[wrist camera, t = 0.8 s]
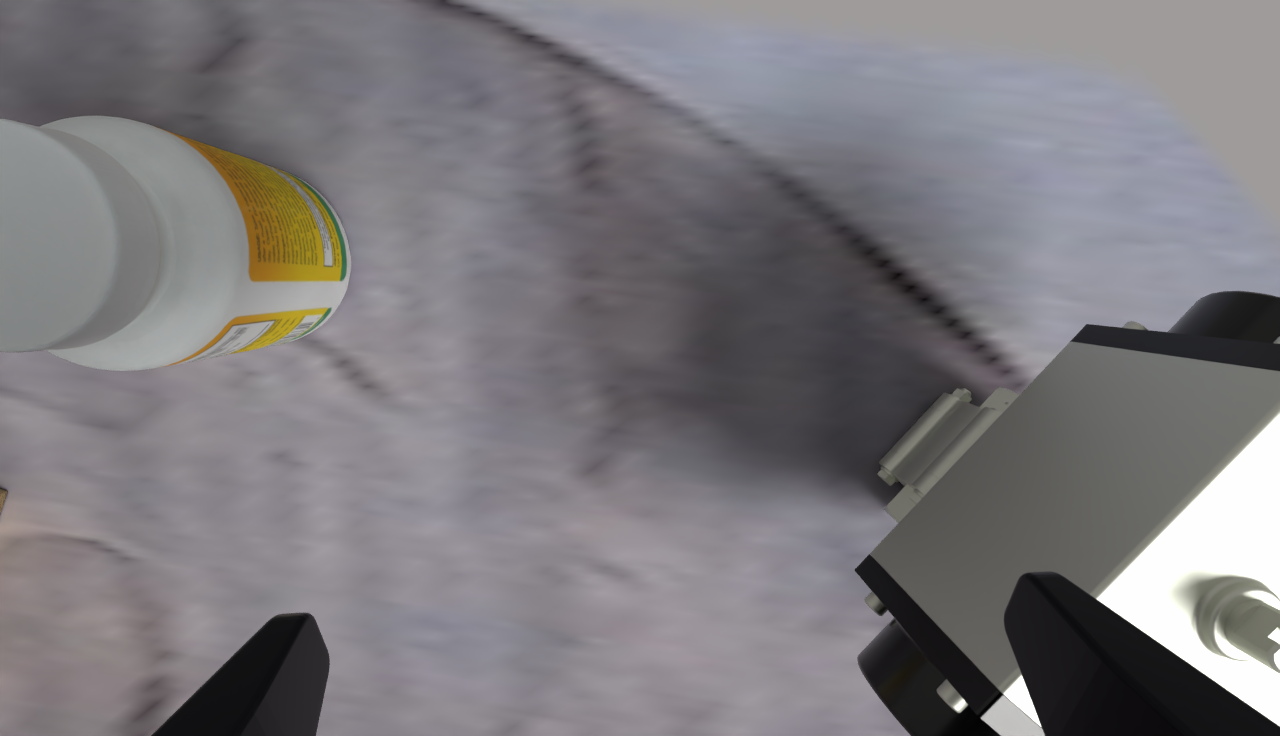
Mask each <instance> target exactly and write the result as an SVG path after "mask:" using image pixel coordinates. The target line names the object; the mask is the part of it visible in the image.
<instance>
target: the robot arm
mask: <svg viewBox="0 0 1280 736" xmlns="http://www.w3.org/2000/svg"><path fill="white" fill-rule="evenodd" d="M1004 627H1005V631H1006V635H1007V637H1008V640H1009V642H1010V645H1011V648H1012V650H1013V653H1014V656H1015V658H1016V661H1017V664H1018V666H1019V669H1020V672H1021V674H1022V677H1023V679H1024V682H1025V685H1026V687H1027V690H1028V693H1029V695H1030V698H1031V701H1032V703H1033V706H1034V708H1035V711H1036V714H1037V716H1038V719H1039V722H1040V724H1041V727H1042V730H1043V732H1044V734H1045V736H1280V726H1279V725H1277V724H1276V723H1274V722H1273V721H1272V720H1270V719H1269V718H1267V717H1266V716H1264V715H1263V714H1261V713H1260V712H1259V711H1257V710H1256V709H1254V708H1253V707H1251V706H1250V705H1248V704H1247V703H1246V702H1244V701H1243V700H1241V699H1240V698H1238V697H1237V696H1235V695H1234V694H1233V693H1231V692H1230V691H1228V690H1227V689H1225V688H1224V687H1223V686H1221V685H1220V684H1218V683H1217V682H1215V681H1214V680H1212V679H1211V678H1210V677H1208V676H1207V675H1205V674H1204V673H1202V672H1201V671H1199V670H1198V669H1197V668H1195V667H1194V666H1192V665H1191V664H1189V663H1188V662H1186V661H1185V660H1184V659H1182V658H1181V657H1179V656H1178V655H1176V654H1175V653H1174V652H1172V651H1171V650H1169V649H1168V648H1166V647H1165V646H1163V645H1162V644H1161V643H1159V642H1158V641H1156V640H1155V639H1153V638H1152V637H1150V636H1149V635H1148V634H1146V633H1145V632H1143V631H1142V630H1140V629H1139V628H1137V627H1136V626H1135V625H1133V624H1132V623H1130V622H1129V621H1127V620H1126V619H1124V618H1123V617H1122V616H1120V615H1119V614H1117V613H1116V612H1114V611H1113V610H1112V609H1110V608H1109V607H1107V606H1106V605H1104V604H1103V603H1101V602H1100V601H1099V600H1097V599H1096V598H1094V597H1093V596H1091V595H1090V594H1088V593H1087V592H1086V591H1084V590H1083V589H1081V588H1080V587H1078V586H1077V585H1075V584H1074V583H1073V582H1071V581H1070V580H1068V579H1067V578H1065V577H1064V576H1062V575H1060V574H1058V573H1056V572H1050V571H1046V572H1028V573H1024V574H1023V575H1021V576H1020V577H1019V579H1018V581H1017V583H1016V586H1015V588H1014V590H1013V593H1012V595H1011V597H1010V600H1009V602H1008V605H1007V607H1006V609H1005V612H1004ZM329 665H330V663H329V653H328V650H327V648H326V645H325V643H324V640H323V638H322V635H321V633H320V630H319V628H318V625H317V623H316V620H315V619H314V617H313V616H312V615H311V614H309V613H289V614H280V615H277V616H275V617H273V618H272V619H270V620H269V621H268V622H267V623H266V624H265V625H264V626H263V627H262V628H261V629H260V630H259V631H258V632H257V633H256V634H255V635H254V636H253V637H252V638H251V639H249V640H248V641H247V642H246V643H245V644H244V645H243V646H242V647H241V648H240V649H239V650H238V651H237V652H236V653H235V654H234V655H233V656H232V657H231V658H230V659H229V660H228V661H227V662H226V663H225V664H224V665H223V666H222V667H221V668H220V669H219V670H218V671H217V672H216V673H215V674H214V675H213V676H212V677H211V678H210V679H209V680H208V681H207V682H206V683H205V684H204V685H203V686H201V687H200V688H199V689H198V690H197V691H196V692H195V693H194V694H193V695H192V696H191V697H190V698H189V699H188V700H187V701H186V702H185V703H184V704H183V705H182V706H181V707H180V708H179V709H178V710H177V711H176V712H175V713H174V714H173V715H172V716H171V717H170V718H169V719H168V720H167V721H166V722H165V723H164V724H163V725H162V726H161V727H160V728H159V729H158V730H157V731H156V732H155V733H153V734H152V735H151V736H316V732H317V727H318V722H319V717H320V712H321V707H322V703H323V698H324V693H325V688H326V683H327V678H328V673H329Z"/></svg>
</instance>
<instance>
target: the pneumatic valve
mask: <svg viewBox="0 0 1280 736" xmlns="http://www.w3.org/2000/svg"><path fill="white" fill-rule="evenodd" d="M970 396H971V393H970V391H968V390H967V389H965V388H962V389H958V388H957V389H956V390H955V391H954V392H953V393H952V394H951V393H950V394H948V393H945V392H944V393H943V394H942V395H941V396H940V397H939V398H938V399H937V400H936V401H935V402H934V403H933V405H932V406H931V407H930V408H929V409H928V410H927V411H926V412H925V413H924V414H923V415H922V416H921V417H920V418H919V419H918V421H917V422H916V423H915V424H914V425H913V426H912V427H911V428H910V429H909V430H908V431H907V432H906V433H905V434H904V436H903V437H902V438H901V439H900V440H899V441H898V442H897V443H896V444H895V445H894V446H893V447H892V448H891V450H890V451H889V452H888V453H887V454H886V455H885V456H884V457H883V458H882V459H881V460H880V461H879V462H878V463H879V464H880V465H881V467H880V468H881V470H880V471H879V472H878V473H877V475H878V476H879V477H880V478H881V479H883V480H884V481H885V482H886V483H887V484H889V485H890V486H891V485H892V484H893V483H894V482H895V481H896V482H898V481H899V482H900V483H902V484H903V485H904V486H905V487H904V488H903V489H902V490H901V491H900V492H899V493H898V494H897V495H896V496H895V497H894V498H893V500H892V501H891V502H890V503H889V504H888V505H887V506H886V507H885V508H884V510H885V511H886V512H887V513H888V514H889V515H890V516H891V517H892V518H893V519H894V520H896V521H897V522H898V524H897V525H896V526H895V528H894V529H893V530H892V531H891V532H890V533H889V534H888V535H887V536H886V537H885V538H884V539H883V540H882V541H881V542H880V543H879V544H878V546H877V547H876V548H875V549H874V550H873V551H872V552H871V553H870V554H869V555H868V556H867V557H866V558H865V559H864V560H863V561H862V562H861V564H860V565H859V566H858V567H857V568H856V569H855V571H856V572H857V574H858V575H859V576H860V577H861V578H862V580H863V581H864V582H865V583H866V584H867V585H868V587H869V588H870V589H871V590H872V592H871V593H870V594H869V595H868V596H867V597H866V598H865V599H864V601H865V603H866V604H867V605H868V606H869V607H870V608H871V609H872V610H873V611H874V612H875V613H876V614H878V615H879V616H882V615H883V614H884V613H885V612H886V611H887V610H889V612H890V613H891V614H892V615H893V616H894V619H893V620H892V621H891V622H890V623H889V624H888V625H887V626H886V627H885V628H884V629H883V630H882V631H881V632H880V633H879V634H878V635H877V636H876V637H875V639H874V640H873V641H872V642H871V643H870V644H869V645H868V646H867V647H866V648H865V649H864V650H863V651H862V652H861V653H860V654H859V655H858V659H857V661H858V665H859V667H860V669H861V671H862V673H863V675H864V677H865V678H866V680H867V681H868V683H869V684H870V686H871V687H872V689H873V690H874V691H875V693H876V694H877V695H878V697H879V698H880V699H881V701H882V702H883V703H884V704H885V706H886V707H887V708H888V709H889V711H890V712H891V713H892V714H893V715H894V717H895V718H896V719H897V720H898V721H899V723H900V724H901V725H902V726H903V727H904V728H905V729H906V731H907V732H908V733H909V734H910V735H911V736H1045V734H1044V732H1043V730H1042V727H1041V724H1040V722H1039V719H1038V716H1037V714H1036V711H1035V708H1034V706H1033V703H1032V701H1031V698H1030V695H1029V693H1028V690H1027V687H1026V685H1025V682H1024V679H1023V677H1022V674H1021V672H1020V669H1019V666H1018V664H1017V661H1016V658H1015V656H1014V653H1013V650H1012V648H1011V645H1010V642H1009V640H1008V637H1007V635H1006V631H1005V627H1004V612H1005V609H1006V607H1007V605H1008V602H1009V600H1010V597H1011V595H1012V593H1013V590H1014V588H1015V586H1016V583H1017V581H1018V579H1019V577H1020V576H1021V575H1023V574H1024V573H1028V572H1046V571H1050V572H1056V573H1058V574H1060V575H1062V576H1064V577H1065V578H1067V579H1068V580H1070V581H1071V582H1073V583H1074V584H1075V585H1077V586H1078V587H1080V588H1081V589H1083V590H1084V591H1086V592H1087V593H1088V594H1090V595H1091V596H1093V597H1094V598H1096V599H1097V600H1099V601H1100V602H1101V603H1103V604H1104V605H1106V606H1107V607H1109V608H1110V609H1112V610H1113V611H1114V612H1116V613H1117V614H1119V615H1120V616H1122V617H1123V618H1124V619H1126V620H1127V621H1129V622H1130V623H1132V624H1133V625H1135V626H1136V627H1137V628H1139V629H1140V630H1142V631H1143V632H1145V633H1146V634H1148V635H1149V636H1150V637H1152V638H1153V639H1155V640H1156V641H1158V642H1159V643H1161V644H1162V645H1163V646H1165V647H1166V648H1168V649H1169V650H1171V651H1172V652H1174V653H1175V654H1176V655H1178V656H1179V657H1181V658H1182V659H1184V660H1185V661H1186V662H1188V663H1189V664H1191V665H1192V666H1194V667H1195V668H1197V669H1198V670H1199V671H1201V672H1202V673H1204V674H1205V675H1207V676H1208V677H1210V678H1211V679H1212V680H1214V681H1215V682H1217V683H1218V684H1220V685H1221V686H1223V687H1224V688H1225V689H1227V690H1228V691H1230V692H1231V693H1233V694H1234V695H1235V696H1237V697H1238V698H1240V699H1241V700H1243V701H1244V702H1246V703H1247V704H1248V705H1250V706H1251V707H1253V708H1254V709H1256V710H1257V711H1259V712H1260V713H1261V714H1263V715H1264V716H1266V717H1267V718H1269V719H1270V720H1272V721H1273V722H1274V723H1276V724H1277V725H1279V726H1280V297H1276V296H1272V295H1267V294H1262V293H1255V292H1246V291H1224V292H1218V293H1213V294H1210V295H1207V296H1205V297H1203V298H1201V299H1199V300H1198V301H1197V302H1196V303H1195V304H1194V305H1193V306H1192V307H1191V308H1190V309H1189V310H1188V311H1187V312H1186V313H1185V314H1184V315H1183V317H1182V318H1181V319H1180V320H1179V321H1178V322H1177V323H1176V324H1175V325H1174V326H1173V327H1172V328H1171V329H1170V330H1169V331H1168V332H1158V331H1148V330H1147V329H1146V328H1145V327H1144V326H1143V325H1141V324H1139V323H1136V322H1132V321H1130V322H1127V323H1126V324H1125V325H1124V326H1123V327H1122V328H1119V327H1109V326H1099V325H1089V324H1086V325H1085V326H1084V328H1083V329H1082V330H1081V331H1080V332H1079V333H1078V334H1077V335H1076V336H1075V337H1074V338H1073V339H1072V340H1071V341H1070V342H1069V343H1068V344H1067V346H1066V347H1065V348H1064V349H1063V350H1062V351H1061V352H1060V353H1059V354H1058V355H1057V356H1056V357H1055V358H1054V359H1053V360H1052V361H1051V362H1050V364H1049V365H1048V366H1047V367H1046V368H1045V369H1044V370H1043V371H1042V372H1041V373H1040V374H1039V375H1038V376H1037V377H1036V378H1035V379H1034V380H1033V382H1032V383H1031V384H1030V385H1029V386H1028V387H1027V388H1026V389H1025V390H1024V391H1023V392H1022V393H1021V394H1020V395H1018V394H1017V393H1015V392H1013V391H1011V390H1008V389H1005V388H1001V387H998V388H997V389H996V390H995V391H994V392H993V393H992V394H991V395H990V396H989V398H988V399H987V400H986V401H985V402H984V403H983V404H982V405H981V406H980V407H977V406H975V405H973V404H970V403H969V402H970V401H971V400H972V398H971V397H970Z"/></svg>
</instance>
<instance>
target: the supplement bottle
mask: <svg viewBox="0 0 1280 736" xmlns="http://www.w3.org/2000/svg"><path fill="white" fill-rule="evenodd" d="M350 272H351V256H350V250H349V245H348V241H347V237H346V233H345V231H344V228H343V226H342V223H341V221H340V219H339V217H338V215H337V214H336V212H335V211H334V209H333V208H332V206H331V205H330V204H329V202H328V201H327V200H326V199H325V198H324V197H323V196H322V195H321V194H320V193H319V192H318V191H317V190H316V189H315V188H313V187H312V186H311V185H309V184H308V183H306V182H305V181H303V180H302V179H300V178H298V177H296V176H294V175H292V174H290V173H287V172H285V171H282V170H279V169H276V168H274V167H271V166H268V165H265V164H262V163H260V162H257V161H255V160H251V159H248V158H245V157H243V156H240V155H237V154H234V153H231V152H228V151H224V150H221V149H218V148H216V147H213V146H210V145H207V144H204V143H201V142H198V141H195V140H192V139H189V138H186V137H183V136H181V135H178V134H175V133H172V132H169V131H166V130H163V129H161V128H158V127H155V126H152V125H149V124H146V123H142V122H138V121H134V120H130V119H125V118H120V117H110V116H99V115H97V116H79V117H71V118H66V119H61V120H57V121H54V122H51V123H48V124H44V125H42V126H40V127H38V126H34V125H30V124H25V123H21V122H17V121H13V120H8V119H0V352H32V351H42V350H46V351H48V352H49V353H51V354H53V355H55V356H57V357H60V358H62V359H65V360H67V361H70V362H72V363H76V364H79V365H82V366H86V367H91V368H96V369H102V370H111V371H136V370H147V369H153V368H159V367H166V366H172V365H177V364H182V363H187V362H192V361H198V360H203V359H208V358H213V357H218V356H222V355H227V354H232V353H238V352H243V351H249V350H254V349H259V348H265V347H270V346H275V345H279V344H283V343H287V342H291V341H294V340H297V339H299V338H301V337H304V336H306V335H308V334H310V333H311V332H313V331H315V330H316V329H318V328H319V327H320V326H321V325H323V324H324V323H325V322H326V321H327V320H328V319H329V318H330V317H331V316H332V315H333V313H334V312H335V311H336V309H337V308H338V306H339V305H340V303H341V301H342V299H343V297H344V295H345V293H346V290H347V287H348V283H349V278H350Z"/></svg>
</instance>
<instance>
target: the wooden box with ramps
mask: <svg viewBox="0 0 1280 736" xmlns="http://www.w3.org/2000/svg"><path fill="white" fill-rule="evenodd" d="M7 492H8V491H5V490H2V489H0V514H1V511H2V507H3V504H4V501H5V498H6V495H7Z"/></svg>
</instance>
